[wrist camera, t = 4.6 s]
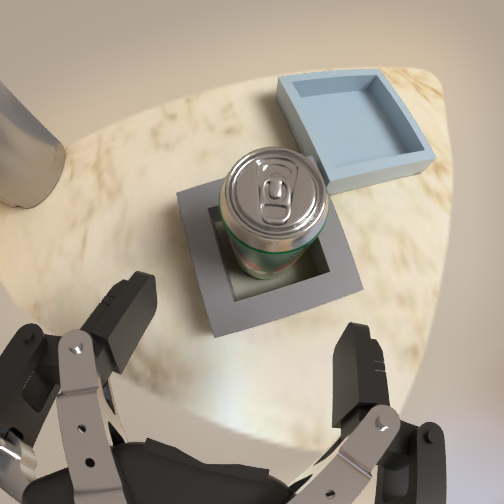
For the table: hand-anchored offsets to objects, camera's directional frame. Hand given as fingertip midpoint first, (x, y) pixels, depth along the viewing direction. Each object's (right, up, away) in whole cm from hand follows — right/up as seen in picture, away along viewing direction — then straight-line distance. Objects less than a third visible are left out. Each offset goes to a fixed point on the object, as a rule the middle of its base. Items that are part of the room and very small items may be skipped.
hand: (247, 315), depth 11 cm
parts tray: (+10, +15, +15) cm, 23 cm away
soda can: (+1, +3, +12) cm, 13 cm away
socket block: (+1, +3, +12) cm, 13 cm away
